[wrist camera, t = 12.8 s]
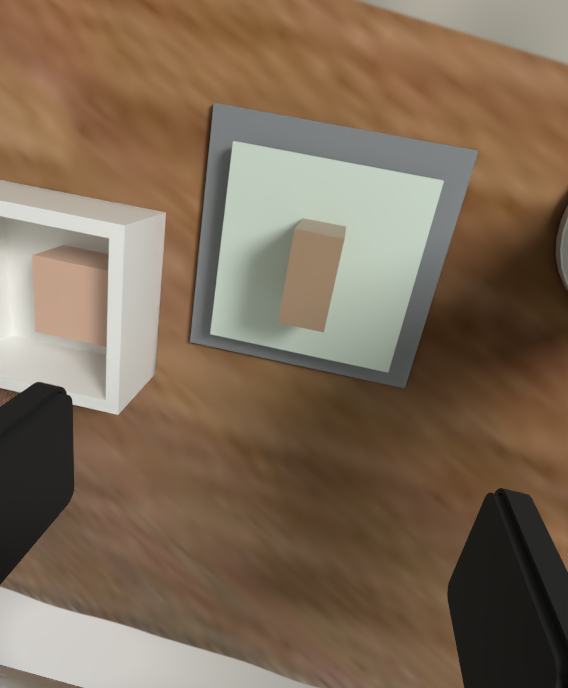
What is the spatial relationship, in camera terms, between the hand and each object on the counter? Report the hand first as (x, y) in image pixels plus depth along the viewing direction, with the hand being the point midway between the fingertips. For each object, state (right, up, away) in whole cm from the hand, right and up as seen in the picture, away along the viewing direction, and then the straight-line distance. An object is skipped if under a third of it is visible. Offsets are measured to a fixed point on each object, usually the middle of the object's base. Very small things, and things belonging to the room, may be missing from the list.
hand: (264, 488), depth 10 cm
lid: (+3, +9, +24) cm, 26 cm away
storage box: (-17, +8, +29) cm, 34 cm away
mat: (+3, +10, +25) cm, 27 cm away
